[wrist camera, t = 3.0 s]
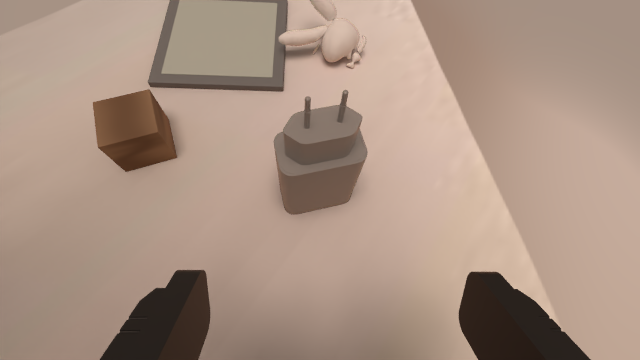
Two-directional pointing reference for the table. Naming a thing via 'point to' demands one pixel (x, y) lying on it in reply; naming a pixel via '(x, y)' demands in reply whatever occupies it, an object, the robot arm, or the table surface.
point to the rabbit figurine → (328, 35)
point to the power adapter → (319, 157)
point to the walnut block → (133, 130)
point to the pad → (221, 45)
